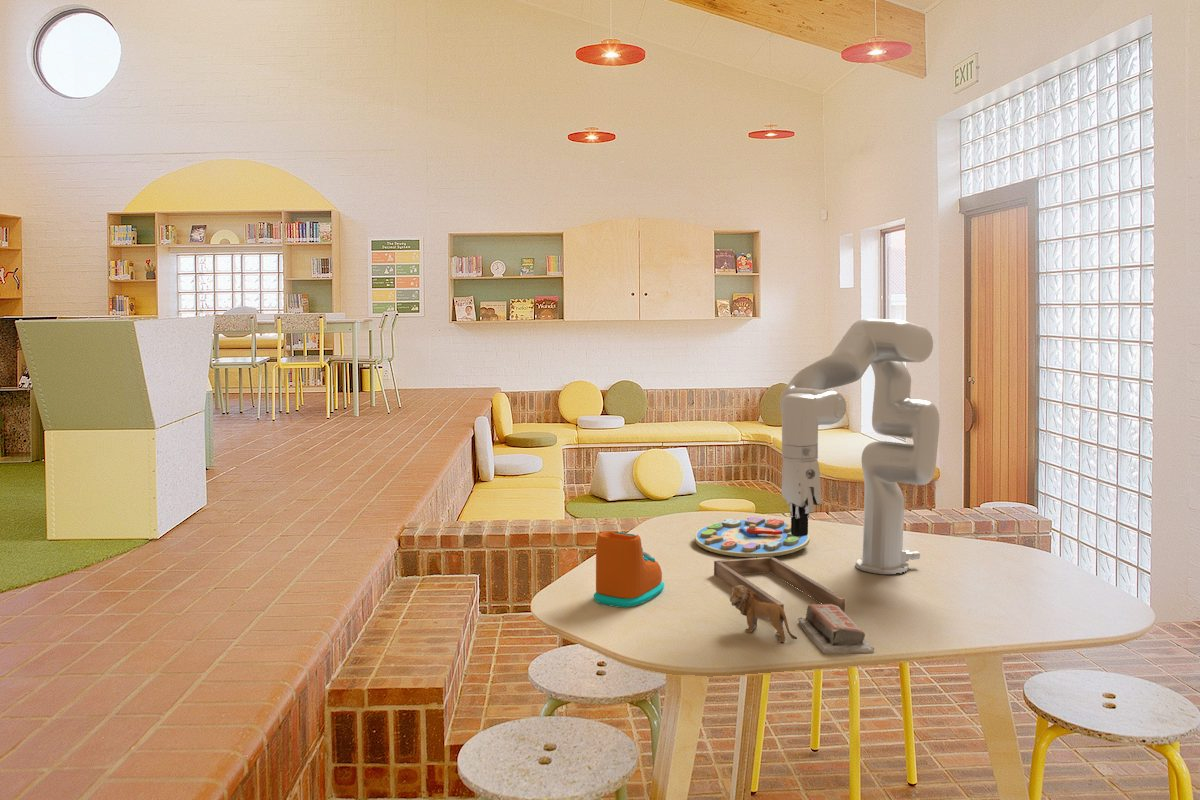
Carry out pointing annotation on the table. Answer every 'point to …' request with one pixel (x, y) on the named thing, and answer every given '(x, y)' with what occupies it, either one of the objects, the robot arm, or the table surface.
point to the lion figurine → (759, 610)
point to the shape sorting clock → (750, 538)
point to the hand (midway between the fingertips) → (799, 534)
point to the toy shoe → (625, 571)
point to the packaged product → (833, 630)
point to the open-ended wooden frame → (734, 568)
